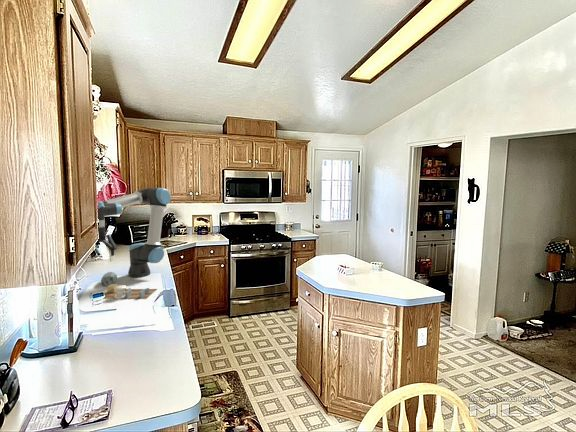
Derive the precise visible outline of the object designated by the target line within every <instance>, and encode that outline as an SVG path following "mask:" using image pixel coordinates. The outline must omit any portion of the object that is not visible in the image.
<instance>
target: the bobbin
mask: <svg viewBox="0 0 576 432" xmlns="http://www.w3.org/2000/svg"><path fill="white" fill-rule="evenodd" d="M127 287H128V286H127V285H125V284H123V285H122V284H120V285H118V286H116V287H114V290H116V293H117V295H115V296H114V298H115V299H114V300H124V299H123V298H126V295H125V289H128V288H127Z"/></svg>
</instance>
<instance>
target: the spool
mask: <svg viewBox="0 0 576 432" xmlns="http://www.w3.org/2000/svg"><path fill="white" fill-rule="evenodd" d="M117 279H118V275H117V274H116V273H115V272H113V271H108V272H106V273H105V274H103V276H102V277H101V279H100V283H101V285H103V286H104V287H107V286H109V285H111V284H115V282H116V281H117Z"/></svg>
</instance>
